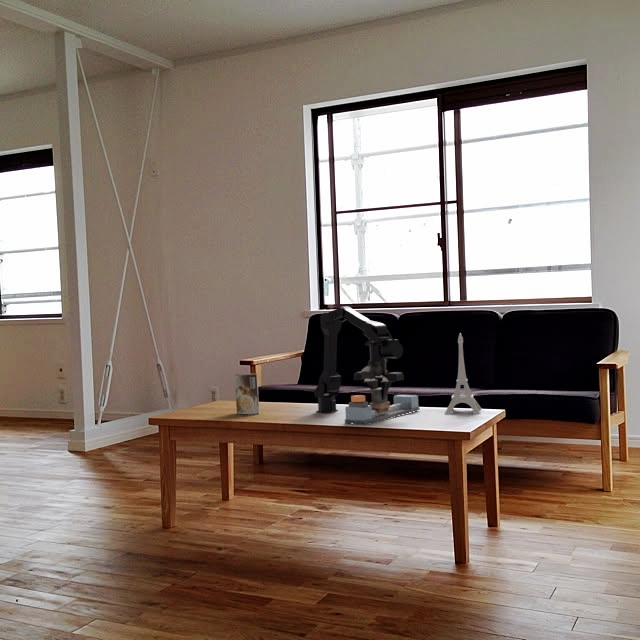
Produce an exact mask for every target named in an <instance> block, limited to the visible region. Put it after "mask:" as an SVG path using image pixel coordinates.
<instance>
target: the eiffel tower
mask: <svg viewBox="0 0 640 640" xmlns="http://www.w3.org/2000/svg"><path fill="white" fill-rule="evenodd" d="M457 343H458V366H457V367H458V368H457V371H458V372H457V379H456V380H455V381H456V385H455V390H454V393H453V394H452V395H451V401H450V403H449V405H448V406H447V408H446V409H445V412H443V414H444V415H452V411H454V410H455V408H454V407H455V406H456V405H458V404H460V403H461V404H462V403H464V404H466V405H468V406H470V407H471V409H472V415H481V411H482V409H483V408H482V407H481V406H480V404H479V403H478V401H477V400H476V399H475V398H474V395H475V394H472V391H471V389H470V386H469V383H468V380H469V379H468V378H467V375H466V374H467V373H466V367H465V359H464V358H465V357H464V348H463V347H464V346H463V344H464V337H463V336H462V333H461V332H460V333H459V335H458V338H457ZM462 385H463V388H464V392H465V394H460V391H461V386H462Z"/></svg>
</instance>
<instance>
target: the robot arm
mask: <svg viewBox="0 0 640 640" xmlns="http://www.w3.org/2000/svg"><path fill="white" fill-rule="evenodd" d="M345 321H348V322H349V323H350V324H352V325H354V326H356V327H357V328H359V329H360V330H361V331H362V333H363V335H364V336H365V337H366V338H368V341H366V342H365V344H364V345H365V346H369V357H370V358H369V359H370V360H368V362H367V365H366V366H365V367H363V368H362V369H361V371H356V372H355V373H354V375H353V379H354V381H362V380H363V383H365V384H366V385H367V386H368V387H369V390H370V391H371V390H372V389H377V388H379V385H380V388H381V389H382V400H384V399H385V397H386V395H387V396H388V392H389V389H390V388H391V385H392V383H394V382H398V381H404V380H405V375H404V374H403V372H399V371H396V372H395V371H394V372H389V371H388V370H387V363H388V361H389V360H388V359H400V358H401V357H402V356H403V353H404V347H403V345H402V344H401V343H400V341H399V339H397V338H396V339H393V337H392V335H391V333H390V332H389V330H388V327H387V325H386V324H384V323H382V322H379V321H374V320H370V319H369V318H368V317H366V316H364V315H363V314H361V313H359V312H357V310H355V309H353V308H352V307H350V306H340V307H338V308H336V309H333V310H331V311H328V312H324V313H322V314H321V316H320V319H319V324H320V329H321V331H322V333H323V336H324V337H323V338H324V340H323V370H322V372H321V374H320V376H319V378H318V385H317V386H316V388H315V389H314V391H313V395H314V397H315V398H317V407H318V408H317V409H318V410H315V412H316V413H325V414H326V413H327V414H331V413H333V412H338V411H339V409H337V400H336V396H339V392H340V391H339V390H340V389H341V386H342V381H341V380H342V376H341V375H339V373H338V372H337V345H338V344H337V343H338V334H339V332H340V331H341V329H342V324H343V322H345ZM380 379H381V381H379V380H380Z"/></svg>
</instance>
